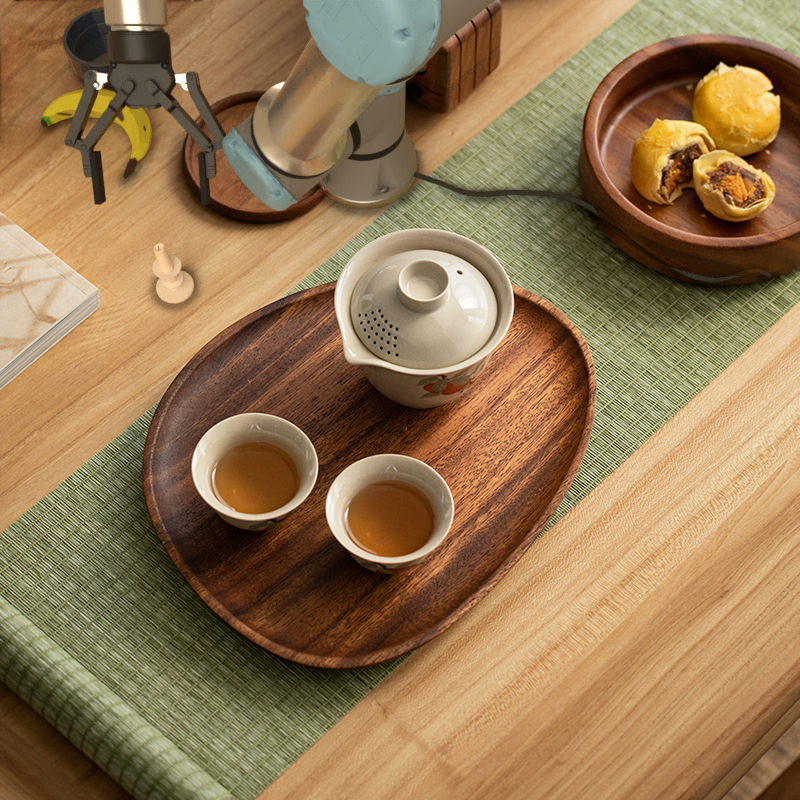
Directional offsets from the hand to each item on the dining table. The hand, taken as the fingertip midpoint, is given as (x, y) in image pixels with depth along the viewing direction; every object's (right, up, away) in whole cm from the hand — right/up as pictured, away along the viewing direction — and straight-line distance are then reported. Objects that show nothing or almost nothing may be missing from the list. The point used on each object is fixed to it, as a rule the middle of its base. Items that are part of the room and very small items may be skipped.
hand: (153, 204), depth 121 cm
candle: (+1, -10, +7) cm, 13 cm away
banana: (-13, +13, +18) cm, 26 cm away
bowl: (-13, +28, +25) cm, 39 cm away
